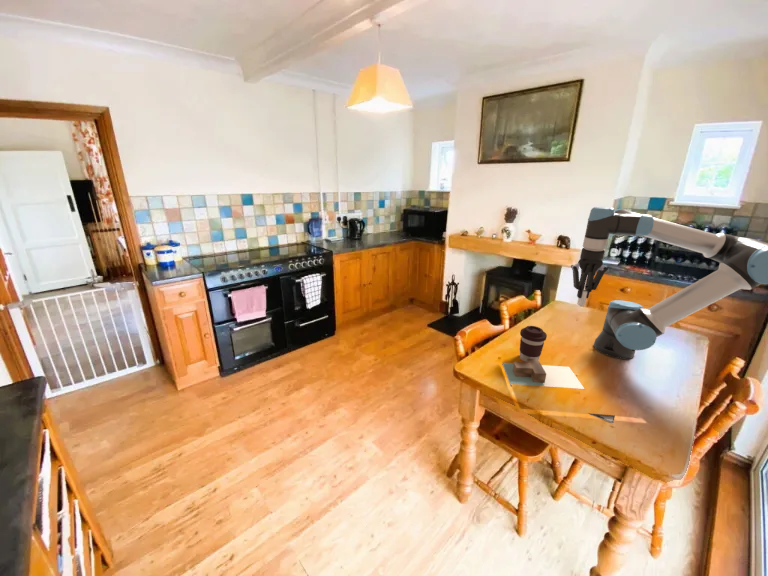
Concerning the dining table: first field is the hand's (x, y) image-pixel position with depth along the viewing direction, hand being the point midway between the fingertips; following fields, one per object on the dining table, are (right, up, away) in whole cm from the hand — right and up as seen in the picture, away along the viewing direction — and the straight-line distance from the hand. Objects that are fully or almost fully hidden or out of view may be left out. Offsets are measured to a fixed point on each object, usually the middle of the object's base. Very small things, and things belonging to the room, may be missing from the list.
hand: (580, 305), depth 131 cm
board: (-19, -28, -5) cm, 34 cm away
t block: (-24, -27, -5) cm, 36 cm away
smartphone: (-5, -34, -20) cm, 40 cm away
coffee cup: (-19, -24, +6) cm, 31 cm away
